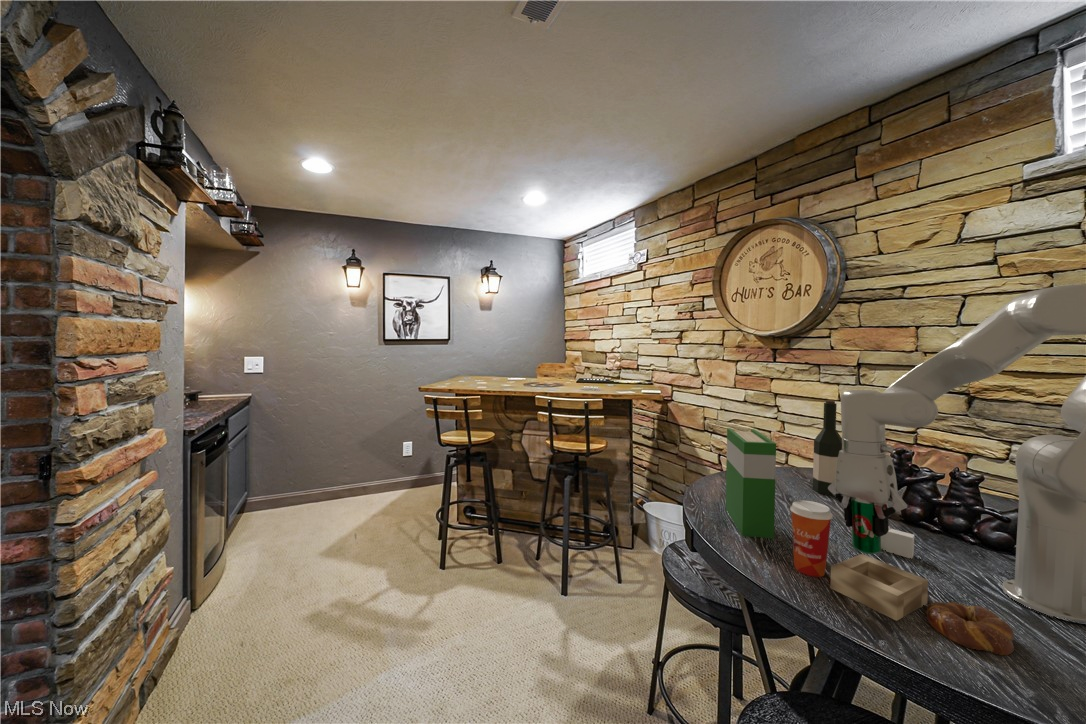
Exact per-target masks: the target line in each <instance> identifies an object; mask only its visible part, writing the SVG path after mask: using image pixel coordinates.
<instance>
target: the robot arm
mask: <svg viewBox="0 0 1086 724" xmlns="http://www.w3.org/2000/svg"><path fill="white" fill-rule="evenodd" d="M1083 335H1084V336H1086V283H1085V284H1082V283H1081V284H1070V285H1069V284H1068V285H1057V286H1051V287H1046V288H1040V289H1036V290H1031V291H1027V292H1024V293H1021V294H1019V295H1018V296H1015V297H1013V298H1012V299H1011V300H1009V301H1008V302H1006V303H1005V304H1004V305H1003V306H1001V307H1000V308H998V309H996V310H995V312H993V313H991V315H989V316H988V317H987V318H985V319H984V320H983V321H981V322H980V323H978V324H977V325H976V326H975V327H973V328H972V329H971V330H969V331H968V332H966V333H965V334H964V335H962V336H961V337H960V338H958V339H957V340H956V341H954V342H953V343H952V344H951V345H949V346H948V347H946V348H944V349H942V350H941V351H939V352H937V353H936V354H935V355H933V356H932V357H930V358H928V359H926V360H925V361H923V362H922V363H920V364H918V365H917V366H915V367H914V368H912V369H910V370H909V371H908V372H907V373H905V374H904V375H902V376H901V377H900V378H899V379H897V380H896V381H895V382H893V383H892V384H891V385H890V386H888V387H887V388H886V389H885V390H883V392H882V393H881V392H880V391H878V390H874V389H873V390H871V389H850V390H849V389H848V390H845V391H843V392H842V393H841V395H840V416H841V417H840V418H841V423H840V424H841V438H842V450H840V451H839V455H838V459H837V466H836V480H835V481H834V482H833V483H832V484H831V485H829V486H828V490H829V491H830V492H831V493H832V494H833V495H835V499H837V501H838V502H839V503H840V506H841V508H843V516H844V517H843V518H844V521H845V526H846V528H847V527H848V528H851V497H852V498H857V497H861V498H863V500H866V501H868V502H871V503H874V506H875V509H876V512H877V517H875V535H876V536H878V537H881V536H883V535H885V534H887V533H888V530H889V527H890V526H889V517H891V516H893V515H894V514H896V513H898V512H901V511H902V510H905V509H907V508H908V504H907V503H906V501H904V499H903V498H902V497H901V496H900V494H899V493H898V483H897V476H896V475H897V474H896V471H895V466H894V462H893V459H892V455H890V454H887V453H893V451H894V447H893V446H891V445H888V444H887V443H888V442H887V440H886V426H896V427H902V428H909V429H918V428H923V427H926V426H929V425H931V424H932V423H934V422H935V421H936V419H937V417H938V413H939V410H938V409H939V407H938V405H937V403H936V402H935V401H936V400H937V399H938V398H939V399H940V397H942V396H943V395H945V394H947V393H949V392H951V391H952V390H954V389H957V388H959V387H962V386H964V385H967V384H970V383H974V382H979V381H983V380H986V379H988V378H990V377H994V376H996V375H998V374H999V373H1001V372H1002V371H1004V370H1006V369H1007V368H1008V367H1010V366H1012V365H1013V364H1014V363H1015V362H1017V361H1018V360H1019V359H1020V358H1022V357H1024V356H1025V355H1027V354H1028V353H1029V352H1031V351H1033V350H1034V349H1035V348H1036V347H1038V346H1039V345H1041V344H1043V343H1044V342H1045V341H1047V340H1048V339H1049V338H1051V337H1053V336H1083ZM1060 416H1061V418H1062V421H1063V423H1065V424H1066V425H1067V426H1068V427H1070V428H1071V429H1072V430H1075V431H1077V432H1079V434H1078V436H1077V437H1076V438H1073V437H1069V436H1067V435H1066V436H1065V435H1058V434H1041V435H1037V436H1034V437H1031V438H1028V439H1027V440H1026V441H1024V442H1022V444H1020V446H1019V447H1018V449H1017V451H1016V453H1015V454H1016V455H1015V471H1016V472H1015V473H1016V479H1017V484H1018V485H1017V486H1018V512H1017V513H1018V514H1017V524H1016V526H1017V528H1016V529H1017V530H1016V545H1015V546H1016V547H1015V548H1016V549H1015V567H1014V568H1015V569H1014V579H1008V580H1005V581H1003V582H1002V588H1001V589H1002V591H1003V593H1004V594H1005V595H1006V594H1007V595H1008V596H1009V597H1008V596H1007V595H1006V596H1007V597H1008V598H1009V599H1011V598H1012V599H1013V601H1014V600H1015V601H1017V602H1019V603H1021V604H1023V605H1025V606H1027V607H1030V608H1032V609H1034V610H1037V611H1039V612H1042V613H1044V614H1047V615H1050V616H1055V617H1061V618H1066V619H1070V620H1075V621H1082V622H1086V375H1084V377H1083V378H1082V379H1081V381H1080V382H1079V383H1078V384H1077V386H1076V387H1075V388H1074V389H1073V390H1072V392H1071V393H1070V394H1069V395H1068V397H1067V398H1066V399H1065V401H1064V402H1063V403H1062V406H1061V408H1060ZM889 502H893V505H891V506H889V504H888V503H889ZM888 526H889V527H888ZM1012 599H1011V600H1012ZM1015 601H1014V602H1015ZM1017 602H1016V603H1017ZM1019 603H1018V604H1019ZM1021 604H1020V605H1021ZM1023 605H1022V606H1023ZM1025 606H1024V607H1025ZM1027 607H1026V608H1027ZM1034 610H1033V611H1034ZM1039 612H1038V613H1039ZM1044 614H1043V615H1044ZM1047 615H1046V616H1047Z"/></svg>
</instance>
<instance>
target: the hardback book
mask: <svg viewBox="0 0 1086 724" xmlns="http://www.w3.org/2000/svg"><path fill="white" fill-rule="evenodd" d="M725 463H726V464H725V467H726V469H725V472H726V473H725V474H726V475H725V510H726V512H727V511H728V512H727V514H728V513H729V514H728V515H729V517H730V516H731V517H730V518H731V520H732V522H733V521H734V522H733V523H734V525H735V527H736V528H737V530H738V531H739V533H740V534H741V536H742V537H752V538H766V539H775V517H776V515H775V508H776V507H775V506H776V472H777V470H776V467H777V443H776V442H775V441H773V440H772V439H770V438H769V437H767V436H766V435H764V434H762V433H761V432H760V431H758V430H756V429H755V428H750V431H744V430H743V431H742V430H741V431H738V430H737V431H736V430H734V429H732V428H730V427H726V462H725Z"/></svg>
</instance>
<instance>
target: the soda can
mask: <svg viewBox="0 0 1086 724" xmlns="http://www.w3.org/2000/svg"><path fill="white" fill-rule="evenodd" d="M875 517H877V512H876V509H875V506H874V503H871V502H868V501H866V500H863V498H861V497H857V498H852V497H851V527H850V529H851V546H852V547H853V548H854V549H855V550H856V551H858V552H861V553H862V554H867V555H877V554H879V553H881V552H882V548H881V537H878V536H876V535H875Z"/></svg>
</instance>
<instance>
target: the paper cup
mask: <svg viewBox="0 0 1086 724" xmlns="http://www.w3.org/2000/svg"><path fill="white" fill-rule="evenodd" d="M789 509H790V511H791V524H792V528H791V529H792V551H793V565H794V569H795V570H796V571H797V572H799V573H801V574H802V575H805V576H808V577H813V578H821V577H824V576H825V574H826V567H827V558H828V551H829V550H828V549H829V540H830V539H829V538H830V529H831V520H832V519H833V517H834V515H833V514H832V512H831V509H830V507H828V506H827V505H825V504H823V503H819V502H816V501H812V500H802V499H801V500H798V501H797V500H796V501H793V502H792V504H791V506H790V507H789Z"/></svg>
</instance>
